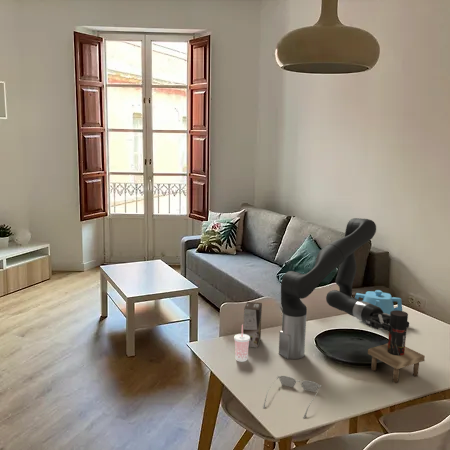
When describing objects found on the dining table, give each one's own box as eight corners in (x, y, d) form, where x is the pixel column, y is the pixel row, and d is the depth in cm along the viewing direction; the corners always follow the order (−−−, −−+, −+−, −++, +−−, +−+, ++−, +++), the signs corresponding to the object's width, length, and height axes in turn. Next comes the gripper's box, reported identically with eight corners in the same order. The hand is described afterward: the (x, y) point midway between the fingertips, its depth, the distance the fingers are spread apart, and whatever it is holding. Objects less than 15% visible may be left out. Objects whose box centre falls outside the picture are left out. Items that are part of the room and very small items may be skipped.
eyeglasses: (320, 394, 180) (321, 383, 179) (306, 421, 164) (307, 409, 163) (277, 384, 186) (277, 374, 185) (259, 409, 170) (260, 398, 169)
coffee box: (258, 347, 215) (259, 309, 211) (242, 346, 216) (243, 308, 213) (261, 338, 223) (262, 302, 220) (246, 337, 225) (247, 301, 221)
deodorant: (402, 357, 190) (405, 317, 187) (385, 352, 193) (388, 314, 190) (406, 351, 195) (409, 312, 192) (389, 347, 198) (393, 309, 195)
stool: (395, 385, 186) (397, 363, 185) (366, 368, 198) (368, 348, 197) (422, 376, 193) (424, 355, 192) (393, 360, 205) (394, 341, 204)
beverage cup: (252, 360, 203) (253, 325, 201) (238, 363, 200) (239, 328, 197) (243, 354, 208) (244, 320, 206) (230, 357, 205) (231, 323, 203)
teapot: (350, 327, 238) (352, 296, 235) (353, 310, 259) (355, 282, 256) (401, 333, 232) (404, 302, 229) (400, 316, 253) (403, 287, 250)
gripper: (354, 306, 201) (387, 320, 187) (381, 300, 208) (414, 314, 194) (353, 325, 202) (385, 340, 189) (380, 319, 209) (413, 333, 196)
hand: (400, 327), depth 191 cm, fingers open, 8 cm apart
